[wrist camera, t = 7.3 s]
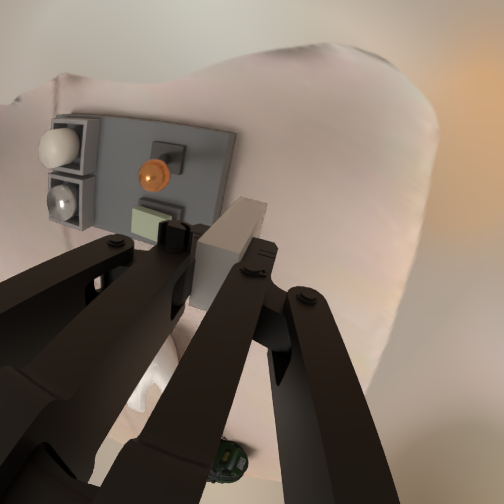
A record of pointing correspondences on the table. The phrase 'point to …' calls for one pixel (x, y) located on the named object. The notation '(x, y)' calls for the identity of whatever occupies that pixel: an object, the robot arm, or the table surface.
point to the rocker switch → (147, 222)
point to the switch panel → (129, 162)
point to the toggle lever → (155, 174)
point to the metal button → (63, 201)
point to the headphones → (228, 463)
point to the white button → (58, 147)
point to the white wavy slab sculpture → (155, 374)
